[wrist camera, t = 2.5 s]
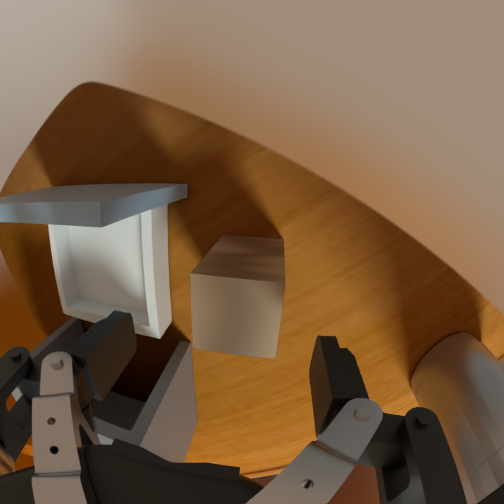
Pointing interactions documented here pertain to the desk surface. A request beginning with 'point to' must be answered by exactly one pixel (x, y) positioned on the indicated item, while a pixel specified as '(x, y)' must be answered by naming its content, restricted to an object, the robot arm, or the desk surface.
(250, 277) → the block
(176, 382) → the cabinet
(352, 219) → the desk surface
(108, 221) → the drawer
